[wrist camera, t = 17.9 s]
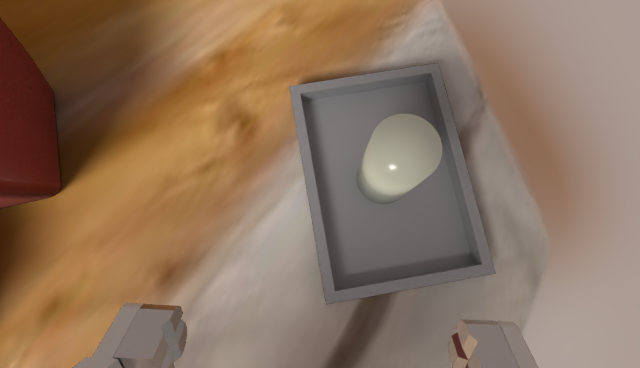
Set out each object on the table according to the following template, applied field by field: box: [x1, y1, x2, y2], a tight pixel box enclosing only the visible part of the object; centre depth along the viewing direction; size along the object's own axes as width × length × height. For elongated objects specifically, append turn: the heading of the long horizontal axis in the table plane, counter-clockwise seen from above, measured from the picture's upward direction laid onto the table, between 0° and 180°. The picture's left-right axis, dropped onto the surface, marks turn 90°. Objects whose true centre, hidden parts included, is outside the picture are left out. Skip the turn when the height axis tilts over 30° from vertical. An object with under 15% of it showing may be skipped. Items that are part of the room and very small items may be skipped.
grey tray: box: [289, 63, 496, 305], centre depth 36 cm, size 22×16×2 cm
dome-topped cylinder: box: [356, 114, 442, 204], centre depth 31 cm, size 6×6×10 cm
